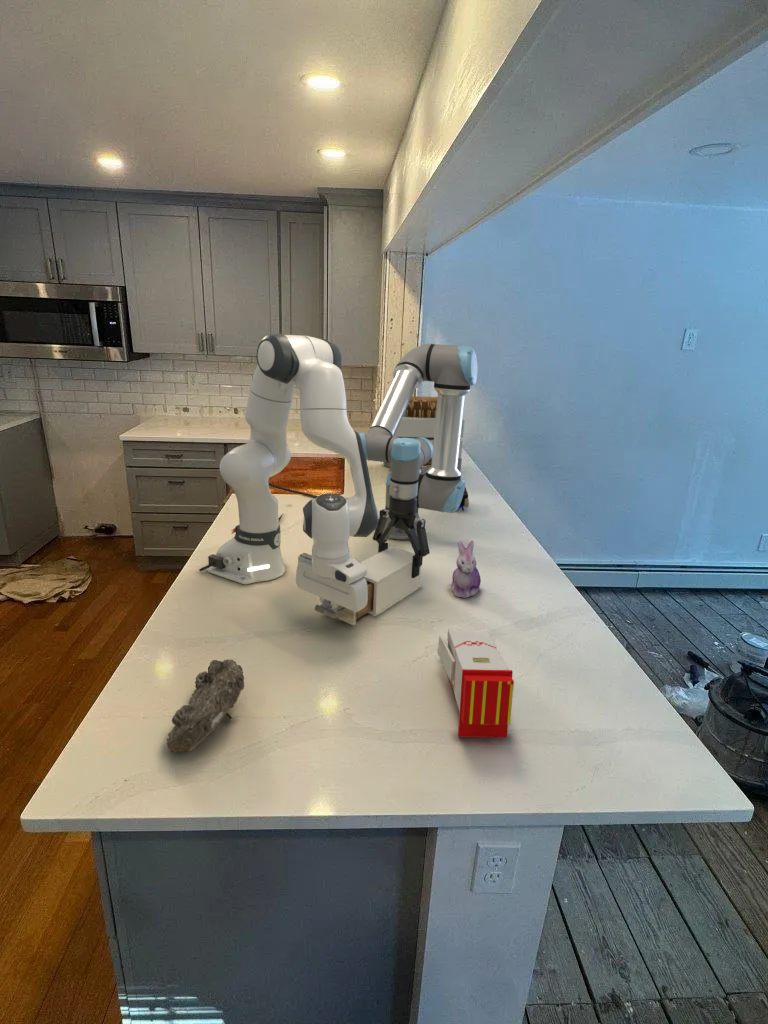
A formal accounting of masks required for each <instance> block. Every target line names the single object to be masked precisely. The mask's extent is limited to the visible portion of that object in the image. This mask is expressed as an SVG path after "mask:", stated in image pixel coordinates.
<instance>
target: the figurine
mask: <svg viewBox="0 0 768 1024" xmlns="http://www.w3.org/2000/svg"><path fill="white" fill-rule="evenodd" d="M457 544H458V557H457V558H456V568H455V569H454V570H453V572H452V576H451V577H452V579H451V580H452V581H451V585H450V586H451V591H452V593H453V594H454V596H455V597H458V598H463V599H464V598H466V599H467V598H469V597H473V596H476V595H477V594H478V592H479V590H480V586H481V582H482V580H481V575H480V572H479V570H478V567H476V566H477V560H476V557H475V555H474V547H475V541H474V540H470V541H469V543H468V545H467V546H465V545H464V543H463V542H462V541H458V543H457Z"/></svg>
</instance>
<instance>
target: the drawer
mask: <svg viewBox="0 0 768 1024" xmlns="http://www.w3.org/2000/svg"><path fill="white" fill-rule="evenodd" d="M366 582H367V588H368V601H367V605H366V606H365V607H364V608H363V609H362V610H360V611H358V612H354V611H352V610H349V609H347V608H345V607H342V606H340V605H339V607H338V608H337V611H336V612H334V611H331V610H329V609H327V608H325V607H323V606H322V604H321V603H320V604H316V605H314V607H313V608H314V611H316V612H318V613H320V614H321V615H324V616H327V617H329V618H331V619H333V620H334V619H338V620H340V621H342V622H344V623H347V624H349V625H352V626H355V625H356V624H357V620H358V619H360V618H361V617H363V616H365V615H367V614H369V613H368V612H369V611H371V610H372V609H373V602H374V583H371V582H369V581H366ZM329 603H330V606H333V605H331V601H329Z"/></svg>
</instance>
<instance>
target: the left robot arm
mask: <svg viewBox="0 0 768 1024" xmlns="http://www.w3.org/2000/svg"><path fill="white" fill-rule="evenodd" d="M342 361H343V359H342V353H341V349H340V348H339V347H338V345H336V344H335V343H334V342H332V341H331V340H328V339H325V338H317V337H314V336H311V335H310V336H309V335H305V334H299V335H298V334H283V333H271V334H267V335H265V336H264V337H262V338H261V340H260V342H259V343H258V346H257V349H256V362H257V365H256V367H255V370H254V373H253V377H252V380H251V384H250V389H249V392H248V393H249V394H248V398H247V404H246V409H245V414H244V418H245V421H246V423H247V425H249V429H250V430H249V431H250V437H249V440H248V441H247V443H244V444H241V445H238V446H236V447H234V448H232V449H231V450H230V451H228V452H227V453H226V454H224V455H223V457H222V458H221V459H220V462H219V473H220V476H221V478H222V480H223V481H224V482H225V483H226V484H227V485H228V486H229V487H231V488H232V490H233V492H234V494H235V495H234V496H235V497H236V502H237V508H238V510H237V511H238V519H239V520H238V521H239V522H238V523H239V524H237V525H236V526H235V527H234V528H233V529H231V530H230V531H231V535H232V534H234V533H235V534H234V536H233V537H232V538H231V539H229V540H228V541H226V542H224V543H223V544H222V545H221V546H220V547H219V548H218V549H217V551H216V554H214V553H212V554H210V555H208V556H207V559H208V560H207V561H208V564H207V565H205V566H203V567H201V568H199V569H198V572H202V571H205V570H207V572H208V573H209V574H213V575H215V576H218V577H221V578H225V579H227V580H230V581H233V582H236V583H239V584H242V585H250V584H254V583H257V582H258V583H259V582H267V581H271V580H275V579H277V578H280V577H281V576H283V575H284V573H286V566H285V564H284V560H283V555H282V550H281V542H282V541H281V538H282V537H281V535H282V534H281V533H282V532H281V525H280V523H279V522H280V520H279V517H280V516H279V500H278V498H277V496H276V495H274V494H272V491H271V489H270V485H269V484H268V483H269V480H270V478H271V477H273V476H275V475H277V474H279V473H281V472H282V471H283V470H284V469H285V468H286V467H287V466H288V465H289V463H290V462H291V459H292V452H291V448H290V445H289V444H288V443H287V426H288V421H289V416H290V411H291V406H292V403H293V398H294V393H295V388H296V386H297V387H298V390H299V398H300V399H299V409H300V410H299V413H300V414H299V415H300V425H301V431H302V433H303V435H304V436H305V437H306V438H307V440H308V441H309V442H311V443H312V444H314V445H315V446H318V447H320V448H322V449H325V450H328V451H330V452H333V453H336V454H338V455H340V456H341V457H342V458H344V459H345V460H346V461H347V463H348V464H349V468H350V472H351V473H350V474H351V478H352V484H353V489H354V495H353V496H350V497H345V496H343V495H341V494H338V493H331V492H328V493H322V494H320V495H317V496H318V497H317V498H312V499H310V500H309V501H307V502H306V504H305V505H304V506H303V507H302V513H303V523H302V531H303V533H304V534H306V536H308V537H309V538H310V539H311V540H312V541H313V544H312V547H311V554H308V553H306V552H302V553H300V554H299V555H298V556H297V566H296V572H295V585H296V587H297V588H298V589H300V590H303V591H304V592H306V593H309V594H312V595H314V596H317V597H319V602H320V605H321V604H322V606H323V607H325V608H327V609H329V610H331V611H334V612H336V611H337V608H338V607H339V605H340V606H342V607H345V608H347V609H349V610H352V611H354V612H358V611H360V610H362V609H363V608H364V607H365V606H366V605H367V601H368V588H367V582H366V580H365V578H364V576H365V575H366V574H367V569H366V567H365V566H363V565H362V564H361V563H360V561H358V560H357V559H355V558H354V556H352V554H350V547H349V539H350V537H353V538H354V537H355V538H367V537H369V536H370V535H371V534H372V533H374V532H375V529H376V528H377V526H378V519H379V511H378V508H377V505H376V501H375V497H374V494H373V493H374V492H373V488H372V482H371V476H370V473H369V472H370V471H369V467H368V460H366V456H365V451H364V446H363V443H362V439H361V437H360V435H359V433H360V432H358V431H356V430H354V429H353V427H352V425H351V424H350V422H349V419H348V410H347V408H348V407H347V394H346V388H345V387H346V385H345V380H344V376H343V372H342V369H341V367H342V363H343V362H342ZM329 601H331V605H333V606H330V603H329Z"/></svg>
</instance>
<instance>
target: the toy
mask: <svg viewBox="0 0 768 1024" xmlns="http://www.w3.org/2000/svg"><path fill="white" fill-rule="evenodd" d="M446 640H447V643H446V641H445V639H444V636H443V635H442V634H439V637H438V646H437V656H438V657H439V659H440V661H441V663H442V666H443V668H444V670H445V672H446V674H447V677H448V679H449V681H450V684H451V687H452V690H453V693H454V697H455V701H456V705H457V708H458V711H459V714H458V715H459V716H458V730H457V731H458V732H457V737H458V738H508V731H509V726H510V725H511V717H512V707H513V697H514V696H513V695H514V684H515V680H514V679H513V673H514V671H513V670H512V669H508V667H507V665H506V662H505V661H504V659H503V658H502V655H501V653H500V651H499V649H498V647H497V643H496V639H495V637H494V635H493V634H491V632H490V631H489V629H467V628H466V629H465V628H463V629H461V628H460V629H459V628H448V630H447V639H446Z"/></svg>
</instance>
